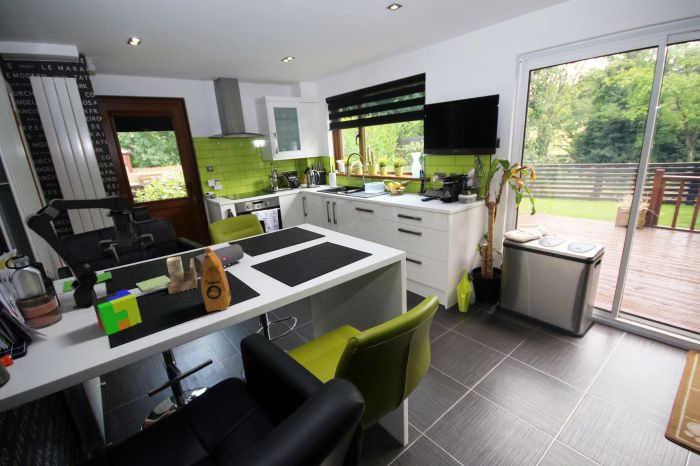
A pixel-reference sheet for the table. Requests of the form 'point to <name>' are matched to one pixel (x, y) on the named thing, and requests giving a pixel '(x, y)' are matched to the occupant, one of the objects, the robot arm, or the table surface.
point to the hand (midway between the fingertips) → (131, 260)
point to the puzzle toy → (116, 311)
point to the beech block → (175, 270)
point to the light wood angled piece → (189, 280)
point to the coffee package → (214, 283)
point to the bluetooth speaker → (222, 256)
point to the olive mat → (153, 283)
